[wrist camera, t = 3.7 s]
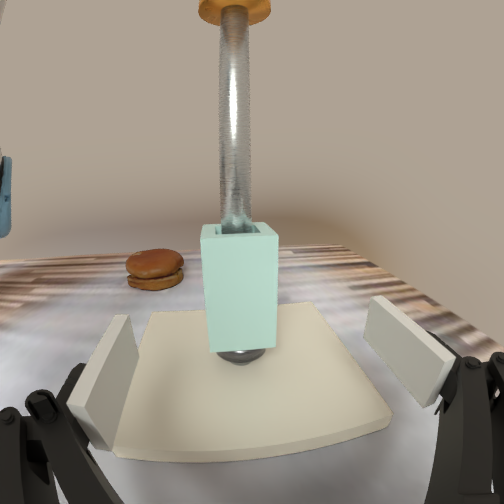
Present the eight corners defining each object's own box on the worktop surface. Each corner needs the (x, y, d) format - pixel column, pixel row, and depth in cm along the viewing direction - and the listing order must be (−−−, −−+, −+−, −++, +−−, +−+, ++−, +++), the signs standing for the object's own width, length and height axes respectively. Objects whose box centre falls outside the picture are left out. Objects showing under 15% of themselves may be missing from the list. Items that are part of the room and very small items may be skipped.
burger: (177, 293, 38) (173, 261, 36) (119, 292, 37) (113, 262, 36) (189, 269, 47) (187, 243, 46) (140, 270, 47) (136, 245, 45)
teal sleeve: (210, 352, 18) (200, 238, 16) (209, 320, 22) (202, 224, 20) (275, 347, 19) (278, 235, 16) (264, 316, 23) (264, 222, 21)
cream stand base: (116, 456, 12) (108, 444, 11) (154, 323, 29) (152, 311, 29) (387, 426, 14) (393, 413, 14) (310, 312, 31) (311, 301, 31)
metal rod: (209, 381, 18) (204, -62, 9) (208, 342, 23) (204, -29, 14) (279, 374, 19) (272, -60, 10) (266, 338, 24) (261, -27, 14)
